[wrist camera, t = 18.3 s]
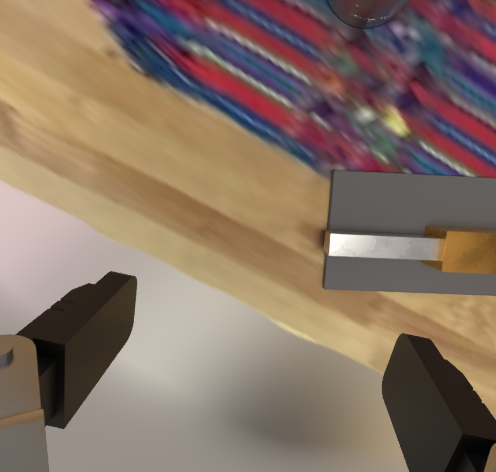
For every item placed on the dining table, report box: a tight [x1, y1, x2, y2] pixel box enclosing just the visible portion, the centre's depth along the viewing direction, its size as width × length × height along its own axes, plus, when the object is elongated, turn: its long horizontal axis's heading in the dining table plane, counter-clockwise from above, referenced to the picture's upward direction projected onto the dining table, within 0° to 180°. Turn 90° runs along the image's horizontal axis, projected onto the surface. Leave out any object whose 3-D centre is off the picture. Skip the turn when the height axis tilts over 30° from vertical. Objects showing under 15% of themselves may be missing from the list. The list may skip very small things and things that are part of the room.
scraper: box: [324, 226, 496, 274], centre depth 40 cm, size 22×4×4 cm, turn 87°
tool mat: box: [323, 170, 496, 296], centre depth 42 cm, size 14×26×1 cm, turn 87°
